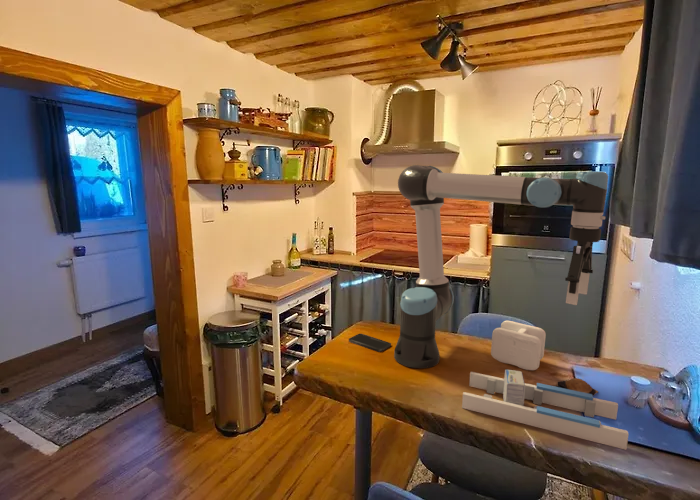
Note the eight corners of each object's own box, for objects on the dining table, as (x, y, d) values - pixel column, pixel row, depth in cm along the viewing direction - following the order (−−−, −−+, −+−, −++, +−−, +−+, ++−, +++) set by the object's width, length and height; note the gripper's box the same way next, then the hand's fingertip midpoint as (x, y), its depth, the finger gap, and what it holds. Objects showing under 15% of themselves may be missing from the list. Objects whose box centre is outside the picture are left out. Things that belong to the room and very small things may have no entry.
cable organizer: (545, 362, 126) (549, 329, 124) (536, 374, 118) (540, 339, 116) (500, 349, 136) (503, 318, 134) (489, 359, 128) (491, 327, 126)
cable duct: (461, 408, 100) (462, 392, 99) (470, 383, 113) (471, 368, 112) (626, 451, 85) (629, 432, 84) (615, 416, 97) (617, 399, 96)
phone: (380, 350, 133) (347, 339, 142) (380, 353, 133) (347, 342, 142) (392, 343, 139) (360, 332, 148) (392, 346, 139) (360, 335, 148)
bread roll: (574, 381, 116) (575, 370, 115) (601, 395, 108) (603, 383, 107) (549, 388, 111) (550, 376, 111) (576, 403, 104) (577, 391, 103)
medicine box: (523, 416, 97) (526, 385, 95) (504, 413, 98) (507, 382, 97) (519, 400, 104) (522, 371, 103) (502, 397, 106) (504, 368, 104)
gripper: (593, 232, 96) (582, 312, 100) (608, 224, 114) (599, 292, 118) (560, 229, 101) (551, 305, 105) (580, 222, 119) (572, 287, 123)
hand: (576, 298), depth 112 cm, fingers open, 13 cm apart
